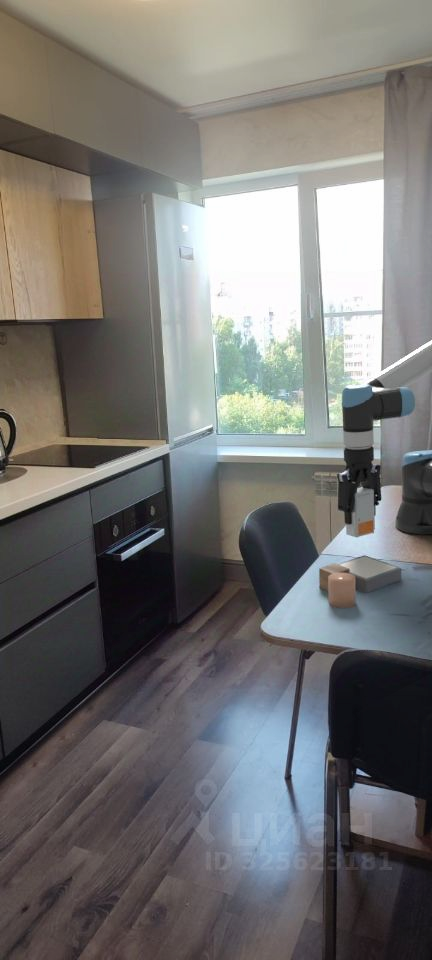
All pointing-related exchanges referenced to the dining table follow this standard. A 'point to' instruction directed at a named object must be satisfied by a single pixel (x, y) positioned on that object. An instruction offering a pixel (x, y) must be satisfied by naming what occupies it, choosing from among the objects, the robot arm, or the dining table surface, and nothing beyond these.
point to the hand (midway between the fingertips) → (360, 531)
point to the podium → (372, 573)
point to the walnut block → (327, 571)
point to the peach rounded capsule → (341, 590)
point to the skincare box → (364, 511)
